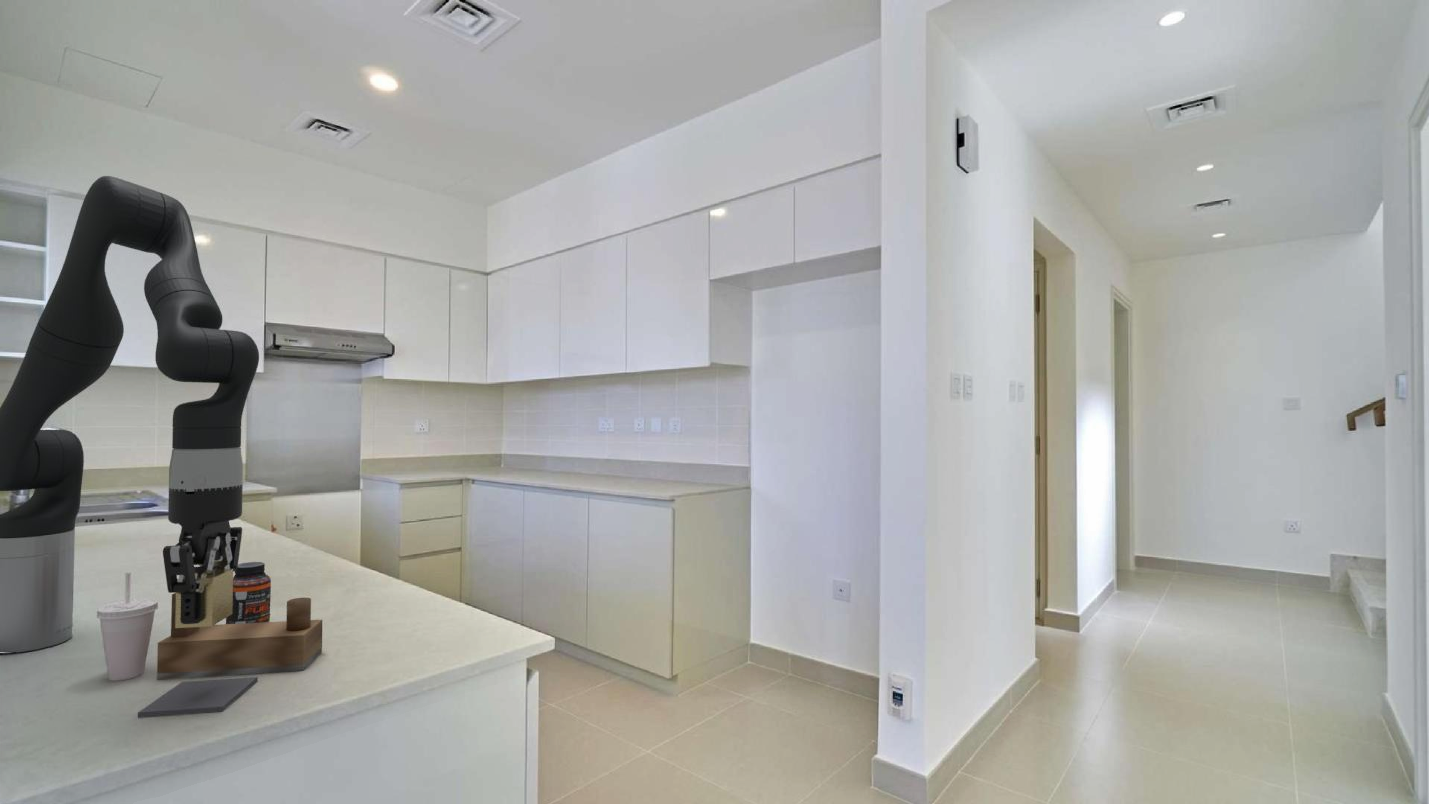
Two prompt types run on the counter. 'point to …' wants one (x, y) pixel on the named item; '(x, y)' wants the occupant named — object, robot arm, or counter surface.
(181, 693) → the mat
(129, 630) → the smoothie
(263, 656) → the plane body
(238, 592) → the supplement bottle
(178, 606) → the brushed brass block
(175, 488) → the robot arm
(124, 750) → the counter surface
